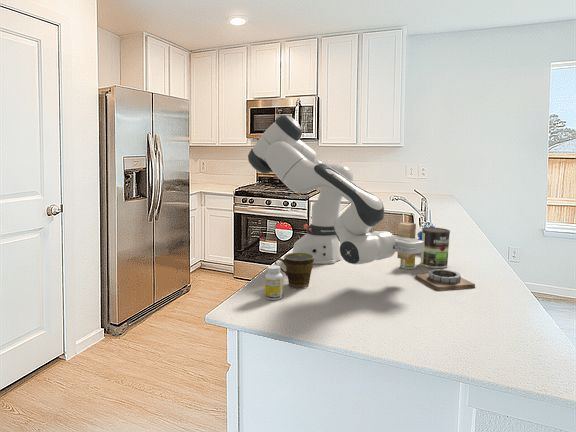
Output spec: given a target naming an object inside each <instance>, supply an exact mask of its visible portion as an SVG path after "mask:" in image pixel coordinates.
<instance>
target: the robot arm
mask: <svg viewBox="0 0 576 432" xmlns="http://www.w3.org/2000/svg"><path fill="white" fill-rule="evenodd" d="M302 136H303V129H302V126H301V125H300V124H299V122H298V121H297V120H296V119H295V118H293V117H291V116H289V115H286V114H282V115H280V116H279V117H277V118H276V119H275V120H274V122H273V123H272V124H270V126H269V127H268V128H267V129H266V130H265V131H264V132H263V133H262V135H261V136H260V138H258V140H257V142H256V143H255V145H254V146H253V148H251V149H250V150H249V152H248V155H247V159H248V163H249V164H250V165H251V167H252V168H253V169H254V171H257V172H259V173H260V174H265V175H267V174H269V173H274V175H276V177H277V178H278V179H279V180H280V181H281V182H282V183H283V184H284V185H285V186H286V187H287V188H288V189H289V190H290V191H292V192H294V193H295V194H296V193H297V194H306V193H309V192H312V191H315V190H316V191H318V190H319V195H318V198H317V199H316V201H315V202H314V203H312V206H311V223H310V224H309V225H308V224H307V223H306V224H304V225H303V228H304V229H305V230H306V233H305V234H304V235H303V236H301V237H300V238H299V239H298V240H296V241H294V244H293V248H292V253H307V254H311V255H313V256H314V262H313V265H314V264H315V265H317V264H319V265H321V264H325V265H326V264H327V265H329V264H334V263H336V262H338V261H341V260H342V259H343V260H344V261H345V262H346V263H347V264H351V265H364V264H370V263H372V262H374V261H380V260H385V259H388V258H391V257H393V256H394V254H395V253H398V252H400V253H404V254H415V255H417V254H421V253H422V252H424V246H425V244H424V241H422V240H417V239H418V238H416V237H415V238H407V237H402V236H398V235H396V234H392V233H390V232H389V231H386V230H380V231H378V230H377V231H372V230H371V229H373V227H375V226H376V225H377V224H379V223H380V222H381V221H383V220H384V217H385V206H384V203H383V201H382V200H381V199H380V198H379V197H377V196H376V195H374V194H373V193H371V192H368V191H366V190H364V189H363V188H361V186H358V185H357V184H356V183H354V181H353V180H354V176H353V175H354V174H353V172H352V170H351V169H350V168H349V167H348V166H344V165H341V164H338V163H328V162H327V163H326V162H323V161H321V160H319V159H318V156H317V152H316V151H315V149H313V148H311V147H310V146H309V145H308V144H306V143H305V142H304V141H302V140H301V137H302ZM343 198H344V199H346V201H348V202H349V203H350V204H349V206H348V207H347V209H345V210H344V211H343V212H342V213H341V214H340V206H341V202H342V199H343ZM290 253H291V252H290ZM290 253H288V254H290Z"/></svg>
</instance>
